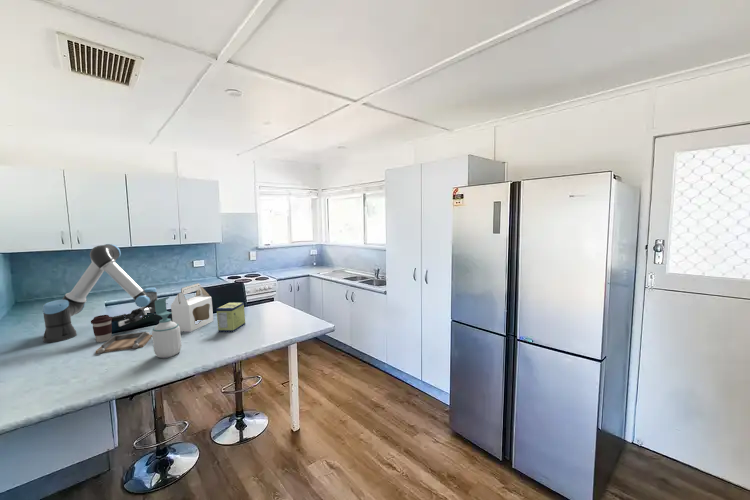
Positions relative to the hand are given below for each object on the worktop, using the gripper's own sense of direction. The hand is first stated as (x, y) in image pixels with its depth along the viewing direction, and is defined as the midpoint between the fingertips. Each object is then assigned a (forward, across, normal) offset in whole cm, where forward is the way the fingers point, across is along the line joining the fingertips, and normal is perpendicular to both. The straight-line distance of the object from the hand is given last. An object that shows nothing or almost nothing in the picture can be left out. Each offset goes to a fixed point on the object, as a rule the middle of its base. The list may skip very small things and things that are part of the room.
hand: (109, 324), depth 199 cm
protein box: (-22, -68, -9) cm, 72 cm away
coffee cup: (+4, +1, -9) cm, 10 cm away
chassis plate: (+9, -21, -9) cm, 24 cm away
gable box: (-25, -38, -9) cm, 46 cm away
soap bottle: (+19, -58, -9) cm, 62 cm away
